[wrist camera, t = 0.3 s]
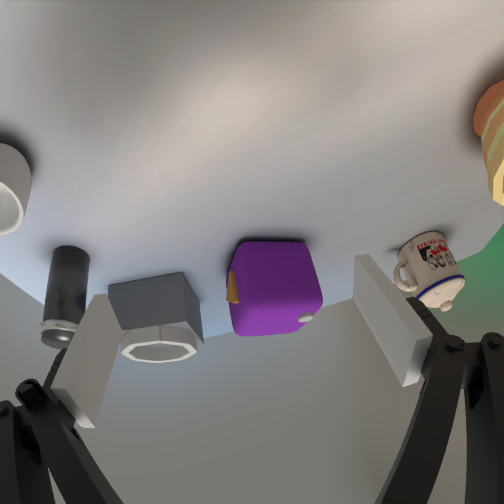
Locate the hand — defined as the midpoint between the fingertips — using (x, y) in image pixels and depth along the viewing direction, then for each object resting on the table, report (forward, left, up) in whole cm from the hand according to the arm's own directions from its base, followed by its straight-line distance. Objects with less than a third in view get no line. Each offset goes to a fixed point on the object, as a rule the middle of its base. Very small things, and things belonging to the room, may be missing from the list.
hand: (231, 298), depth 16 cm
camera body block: (+26, -13, -15) cm, 33 cm away
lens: (+13, -20, -15) cm, 28 cm away
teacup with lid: (+27, +28, -15) cm, 42 cm away
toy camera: (+23, +3, -15) cm, 28 cm away
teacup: (-3, -20, -15) cm, 25 cm away
